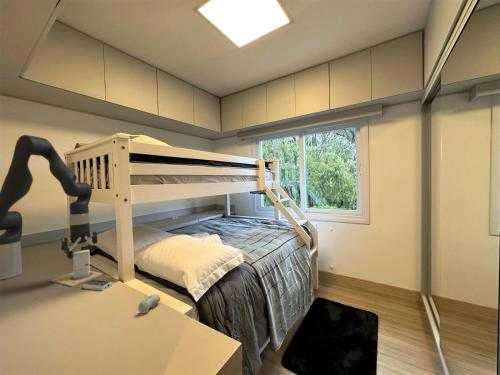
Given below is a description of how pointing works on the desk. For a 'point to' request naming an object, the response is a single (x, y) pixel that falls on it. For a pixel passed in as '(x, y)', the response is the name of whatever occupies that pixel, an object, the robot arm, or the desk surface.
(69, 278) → the beige flat board
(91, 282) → the multiport hub
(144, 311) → the grey rounded cylinder
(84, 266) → the skincare box
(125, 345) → the desk surface
